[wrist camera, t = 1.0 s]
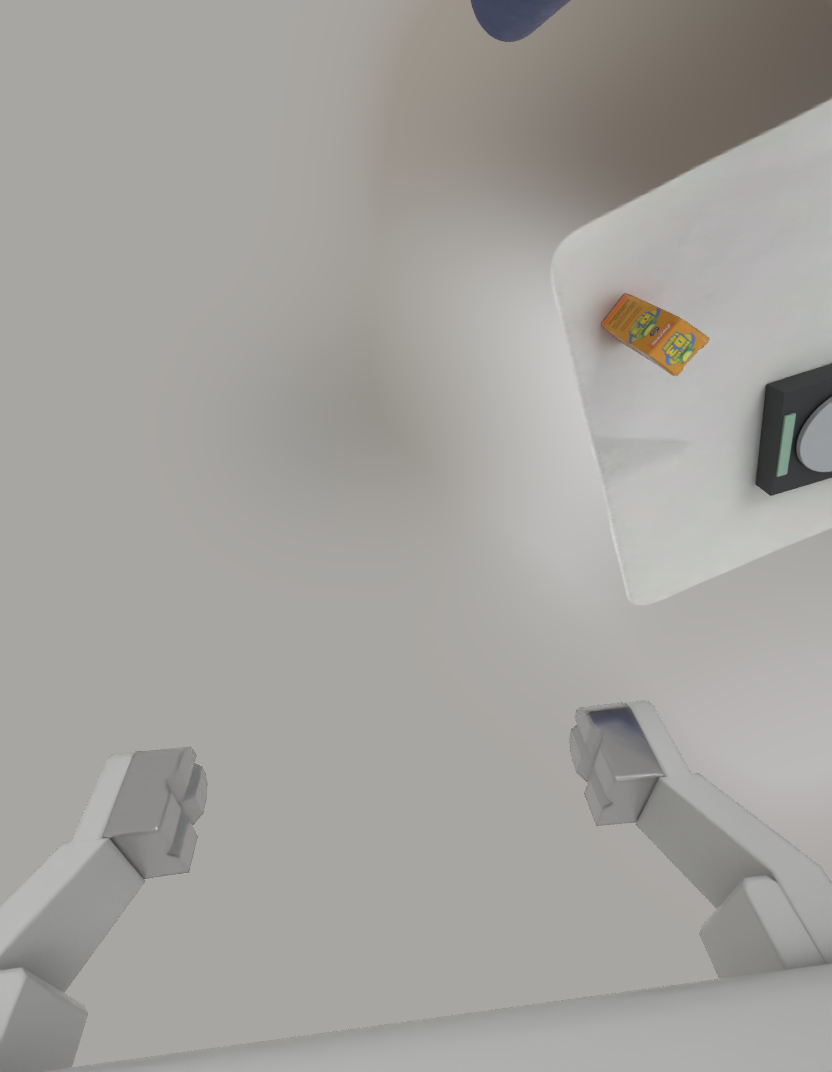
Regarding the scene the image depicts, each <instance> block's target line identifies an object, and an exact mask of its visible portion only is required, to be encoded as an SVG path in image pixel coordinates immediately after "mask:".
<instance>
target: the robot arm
mask: <svg viewBox="0 0 832 1072" xmlns="http://www.w3.org/2000/svg"><path fill="white" fill-rule="evenodd" d="M575 719H576V722H577V725H576V726H575V727H574V728H572V729H571V733H570V738H569V740H570V752H571V756H572V761H573V764H574V766H575V769H576V772H577V774H579V775H580V776H581V777H582V778H583V779H584V780H585V781H587V782H588V783H587V786H586V790H585V793H584V794H585V797H586V799H587V802H588V805H589V807H590V810H591V813H592V816H593V818H594V821H595V824H596V826H598V825H611V824H622V823H634V822H637V823H636V825H637V826H638V827H639V828H640V829H641V830H642V832H643V833H644V834H645V835H646V836H647V837H648V838H649V839H650V840H651V841H652V842H653V843H654V844H655V845H656V846H657V847H658V848H659V849H660V850H661V851H662V852H663V853H664V855H665V856H666V857H667V858H668V859H669V860H670V861H671V862H672V863H673V864H674V865H675V866H676V867H677V868H678V869H679V870H680V871H681V872H682V873H683V874H684V875H685V876H686V877H687V878H688V879H689V880H690V881H691V883H692V884H693V885H694V886H695V887H696V888H697V889H698V890H699V891H700V892H701V893H702V894H703V895H704V896H705V897H706V898H707V899H708V900H709V901H710V902H711V903H712V904H713V905H714V907H715V908H716V911H715V912H714V913H713V914H712V915H711V916H710V917H709V918H708V920H707V921H706V922H705V923H704V924H703V925H702V928H701V930H700V933H699V934H700V936H701V939H702V941H703V943H704V945H705V948H706V950H707V952H708V954H709V957H710V959H711V961H712V963H713V966H714V968H715V970H716V973H717V975H718V977H719V979H714V980H707V981H701V982H693V983H686V984H678V985H671V986H663V987H656V988H649V989H641V990H634V991H627V992H619V993H612V994H605V995H598V996H590V997H583V998H576V999H568V1000H561V1001H554V1002H546V1003H539V1004H532V1005H525V1006H517V1007H510V1008H503V1009H495V1010H488V1011H481V1012H473V1013H466V1014H459V1015H451V1016H444V1017H437V1018H430V1019H422V1020H415V1021H407V1022H400V1023H393V1024H386V1025H378V1026H371V1027H363V1028H357V1029H349V1030H342V1031H334V1032H327V1033H320V1034H312V1035H306V1036H298V1037H290V1038H283V1039H276V1040H269V1041H261V1042H254V1043H246V1044H239V1045H232V1046H224V1047H217V1048H210V1049H203V1050H195V1051H188V1052H181V1053H173V1054H166V1055H159V1056H151V1057H144V1058H137V1059H129V1060H122V1061H115V1062H108V1063H101V1064H93V1065H86V1066H78V1067H72V1065H73V1061H74V1058H75V1055H76V1052H77V1048H78V1045H79V1042H80V1038H81V1035H82V1032H83V1029H84V1025H85V1022H86V1018H87V1016H88V1012H87V1010H86V1008H85V1006H84V1005H83V1004H81V1003H79V1002H78V1001H76V1000H75V999H73V998H71V997H70V996H68V995H67V994H65V993H64V992H65V991H66V990H67V988H68V987H69V986H70V984H71V983H72V981H73V980H74V979H75V977H76V976H77V975H78V973H79V972H80V970H81V969H82V968H83V966H84V965H85V964H86V962H87V961H88V959H89V958H90V957H91V955H92V954H93V953H94V951H95V950H96V948H97V947H98V946H99V944H100V943H101V942H102V940H103V939H104V938H105V936H106V935H107V933H108V932H109V931H110V929H111V928H112V927H113V925H114V924H115V922H116V921H117V920H118V918H119V917H120V915H121V914H122V913H123V912H124V910H125V909H126V907H127V906H128V905H129V903H130V902H131V901H132V899H133V898H134V896H135V895H136V894H137V892H138V891H139V890H140V888H141V887H142V885H143V884H144V883H145V880H144V879H147V878H153V877H161V876H168V875H175V874H182V873H189V871H190V866H191V862H192V858H193V854H194V850H195V846H196V841H197V837H198V836H197V834H196V832H195V830H194V827H193V825H194V823H195V822H196V821H197V820H198V819H199V818H200V816H201V815H202V814H203V812H204V808H205V803H206V798H207V779H206V773H205V772H204V769H203V767H202V766H200V765H197V764H196V763H194V762H195V758H196V754H195V752H194V750H193V749H192V747H181V748H171V749H161V750H150V751H135V752H126V753H117V754H112V755H111V756H110V757H109V758H108V760H107V761H106V762H105V764H104V766H103V768H102V770H101V772H100V775H99V777H98V780H97V782H96V784H95V786H94V789H93V791H92V794H91V796H90V798H89V801H88V803H87V805H86V807H85V810H84V812H83V815H82V817H81V819H80V821H79V824H78V826H77V829H76V831H75V833H74V835H73V838H72V840H71V842H64V843H62V844H61V845H60V846H59V847H58V848H57V849H56V850H55V851H54V852H53V853H52V854H51V855H50V856H49V857H48V858H47V859H46V860H45V861H44V862H43V863H42V864H41V865H40V866H39V867H38V868H37V869H36V870H35V871H34V872H33V873H32V874H31V875H30V876H29V877H28V878H27V879H26V880H25V881H24V882H23V883H22V884H21V885H20V886H19V887H18V888H17V889H16V890H15V891H14V892H13V893H12V894H11V895H10V896H9V897H8V898H7V899H6V900H5V901H4V902H3V903H2V904H1V905H0V1072H832V882H831V881H830V879H829V877H828V876H827V874H826V873H825V871H824V870H823V868H822V867H821V866H820V865H819V864H817V863H816V862H815V861H813V860H812V859H811V858H809V857H808V856H807V855H805V854H804V853H803V852H801V851H800V850H799V849H798V848H796V847H795V846H793V845H792V844H791V843H790V842H788V841H787V840H786V839H784V838H783V837H782V836H780V835H779V834H778V833H777V832H775V831H774V830H773V829H771V828H770V827H769V826H767V825H766V824H765V823H763V822H762V821H761V820H759V819H758V818H757V817H756V816H754V815H753V814H752V813H750V812H749V811H748V810H746V809H745V808H744V807H743V806H741V805H740V804H739V803H737V802H736V801H734V800H733V799H732V798H731V797H729V796H728V795H727V794H725V793H724V792H723V791H722V790H720V789H719V788H718V787H716V786H715V785H714V784H712V783H711V782H710V781H708V780H707V779H706V778H704V777H703V776H702V775H700V774H699V773H694V774H692V773H691V771H690V770H689V768H688V766H687V764H686V762H685V761H684V759H683V757H682V755H681V753H680V752H679V750H678V748H677V746H676V745H675V743H674V741H673V739H672V738H671V736H670V734H669V732H668V730H667V729H666V727H665V725H664V723H663V722H662V720H661V718H660V716H659V714H658V713H657V711H656V709H655V707H654V706H653V705H652V704H651V703H650V702H649V701H636V702H627V703H614V704H605V705H597V706H589V707H580V708H579V709H578V710H577V711H576V714H575Z"/></svg>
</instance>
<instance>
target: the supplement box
mask: <svg viewBox="0 0 832 1072" xmlns="http://www.w3.org/2000/svg"><path fill="white" fill-rule="evenodd" d="M601 325H602V326H603V327H604V328H605V329H606V330H607V331H608V332H609V333H611V334H612V335H613V336H614V337H616V338H617V339H618V340H619V341H621V342H622V343H623V344H625V345H626V346H628V347H630V348H631V349H633V350H635V351H636V352H638V353H639V354H641V355H643V356H644V357H646V358H647V359H649V360H650V361H652V362H654V363H655V364H657V365H658V366H660V367H661V368H663V369H664V370H666V371H667V372H669V373H670V374H671V375H673V376H675V375H676V376H678V375H679V373H680V372H681V371H682V370H683V367H684V366H685V365H686V363H687V362H688V361H689V360H690V359H691V358H692V357H693V356H694V355H695V354H696V353H697V351H698V350H699V349H701V348H703V347H704V345H706V344H707V342H708V341H709V337H707V336H706V335H705V334H703V333H702V332H700V331H699V330H697V329H696V328H695V327H693V326H692V325H690V324H689V323H687V322H686V321H685V320H683V319H682V318H680V317H678V316H676V315H673V314H671V313H669V312H667V311H665V310H663V309H660V308H658V307H656V306H654V305H652V304H649V303H647V302H645V301H643V300H640V299H638V298H636V297H634V296H631V295H629V294H624V295H623V296H622V298H621V299H620V300H619V301H618V303H617V304H616V305H615V307H614V308H613V309H612V310H611V312H610V313H609V314H608V316H607V317H606V318H605V320H604V321H603V322H602V324H601Z"/></svg>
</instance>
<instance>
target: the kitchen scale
mask: <svg viewBox="0 0 832 1072" xmlns="http://www.w3.org/2000/svg"><path fill="white" fill-rule="evenodd" d="M828 478H832V364H829V365H826V366H823V367H820V368H817V369H814V370H811V371H807V372H804V373H801V374H798V375H795V376H792V377H789V378H786V379H782V380H779V381H776V382H773V383H770V384H767V386H766V396H765V405H764V414H763V423H762V433H761V442H760V451H759V461H758V470H757V479H756V485H757V486H758V487H760V488H761V489H762V490H764V491H765V492H766V493H768V494H769V495H770V496H771V495H775V494H778V493H782V492H785V491H788V490H792V489H795V488H798V487H802V486H805V485H808V484H812V483H815V482H818V481H822V480H825V479H828Z"/></svg>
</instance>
